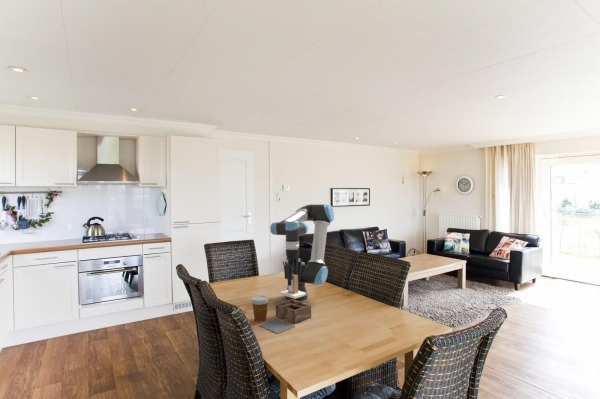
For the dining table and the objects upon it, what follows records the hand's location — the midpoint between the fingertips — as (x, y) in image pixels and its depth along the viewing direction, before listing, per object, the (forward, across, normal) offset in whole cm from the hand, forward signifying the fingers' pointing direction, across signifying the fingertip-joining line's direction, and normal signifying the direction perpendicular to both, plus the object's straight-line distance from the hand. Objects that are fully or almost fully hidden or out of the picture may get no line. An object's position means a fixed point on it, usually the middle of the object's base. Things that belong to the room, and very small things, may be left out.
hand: (293, 290), depth 186 cm
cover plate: (+3, 0, 0) cm, 3 cm away
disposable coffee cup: (+15, -15, +10) cm, 24 cm away
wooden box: (+15, 0, 0) cm, 15 cm away
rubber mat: (+15, -15, -3) cm, 22 cm away
